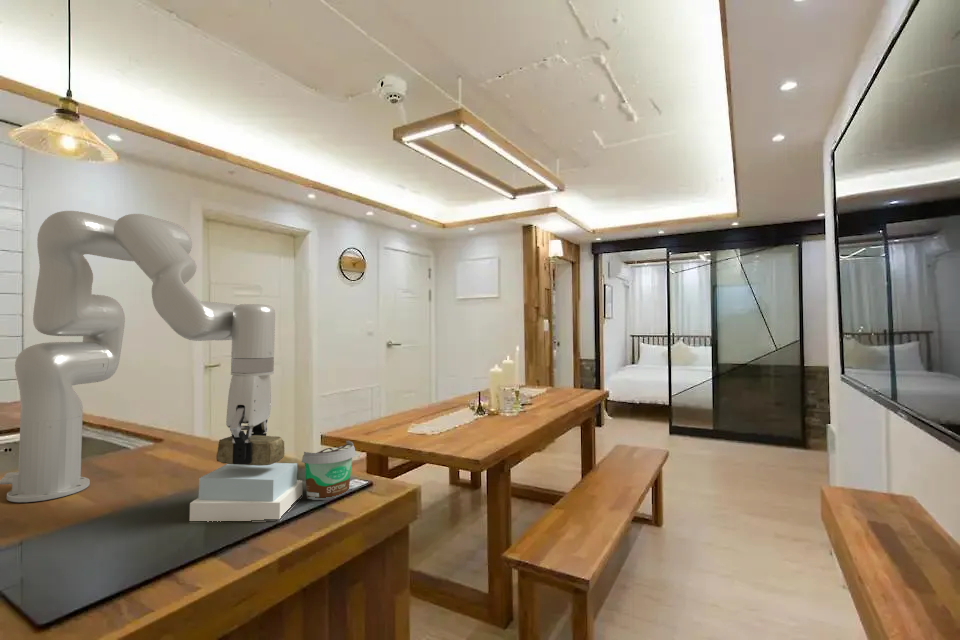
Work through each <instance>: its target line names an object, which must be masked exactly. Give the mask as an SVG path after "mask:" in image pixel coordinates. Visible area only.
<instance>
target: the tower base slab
mask: <svg viewBox="0 0 960 640" xmlns="http://www.w3.org/2000/svg"><path fill="white" fill-rule="evenodd" d="M303 481H304V480H303V479H302V480H301V479H299V480H298V479H297V483H296V484H295V485H293V486H292V487H291V488H290V489H288V490H287V491H286V492H285V493H283V494H282V495H281V496H279V497H278V498H277V499H276V500H274V501H273V502H269V501H229V500H199V497H197V498H196V499H194V500H192V501H191V502H190V503H189V521H207V522H206V523H210V522H209V521H212V522H211V523H214V522H213V521H217V522H218V521H220V522H221V521H251V520H264V519H280V518H281V516H282V515H283V514H284V513H285V512H286V511H287V510H288V509H289V508H290V507H291V505H292V504H293V503H294V502H295V501H296V500H297V499H298V498H299V497H300V496H301V495H302V496H303ZM217 522H216V523H217ZM220 522H218V523H220ZM221 523H222V522H221Z"/></svg>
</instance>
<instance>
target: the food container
mask: <svg viewBox="0 0 960 640" xmlns="http://www.w3.org/2000/svg"><path fill="white" fill-rule="evenodd" d="M355 456H356V449H355V446H354V443H353V441H350V440H346V443H345V444H344V445H340V446H336V447H327V448H324V449H321V450H320V451H317V452H310V451H309V452H308V451H303V455H302V459H301V463H302V464H303V463H304V474H305V487H306V489H305V491H306V497H307V496H308V497H315V498H326V497H332V496H336V495H339V494H342V493H344V492H346V491H347V490H348V489H349V490H350V483H351V474H352V466H353V465H352V464H353V457H355Z"/></svg>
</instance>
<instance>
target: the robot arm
mask: <svg viewBox="0 0 960 640" xmlns="http://www.w3.org/2000/svg"><path fill="white" fill-rule="evenodd" d="M190 235H191V234H189V232H188V231H187V230H186V229H185V228H184V227H182V226H181V225H180V224H177V223H175V222H172V221H169V220H164V219H161V218H157V217H154V216H151V215H147V214H142V213H129V214H126V215H123V216H121V217H119V218H118V219H112V218H110V217H109V218H108V217H106V216H101V215H98V214H94V213H89V212H83V211H79V210H78V211H77V210H64V211H63V210H61V211H57V212H55V213H52V214H50V215H49V216H48V217H47V218H45V219H44V220H43V223H41V225H40V228H39V230H38V233H37V238H36V239H37V242H36V243H37V253H38V261H39V269H38V271H39V272H38V277H37V284H36V290H35V299H34V304H33V305H34V307H33V313H32V314H33V315H32V321H33V326H34V328H35V330H37V332H38V333H40V334H43V335H46V336H53V337H82V341H58V342H57V341H54V342H53V341H51V342H42V343H35V344H32V345H30V346H28V347H25V349H23V350H21V351H20V353H19V354H18V355H17V356H16V359H15V362H14V363H15V364H14V370H15V371H14V372H15V375H16V380H17V384H18V389H19V399H20V417H19V419H20V420H19V421H20V423H19V447H18V448H19V451H18V471H16V472H14V471H12V472H11V471H10V472H6V473H5V474H4V476H3V477H2V478H0V485H11V489H10V490H9V491H7V492H6V500H7V501H9V502H11V503H34V502H41V501H48V500H54V499H58V498H62V497H65V496H70V495H74V494H77V493H79V492H81V491H83V490H85V489H87V488H88V487H89V486H90V483H91V482H90V479H89V478H88V477H84V476H81V473H82V469H81V468H82V444H83V437H82V436H83V419H84V418H83V413H84V412H83V411H84V410H83V402H82V400H81V398H80V396H79V395H78V393H77V392H76V390H75V389H74V388H73V386H76V385H83V384H84V385H86V384H92V383H99V382H103V381H104V382H105V381H106V380H108V379H110V378H111V377H113V375H115V373H116V372H117V370H118V368H119V364H120V360H121V352H122V346H123V339H124V334H125V333H124V332H125V327H126V326H125V325H126V324H125V322H126V317H125V311H124V309H123V307H122V305H121V303H120V302H119V301H118V300H116V299H115V298H113V297H112V296H108V295H104V294H93V293H92V290H93V289H92V288H93V282H94V273H93V270H92V267H91V265H90V263H89V261H88V260H87V259H86V257H85V255H92V256H97V257H101V258H108V259H113V260H119V261H126V262H134V263H135V264H136V265H137V266H138V267H139V268H140V269H141V270H142V271H143V273H144V274H145V275H146V276H147V277H148V278H149V280H150V281H151V283H152V285H151V286H152V287H151V297H152V303H153V306H154V308H155V311H156V312H157V314H158V315H159V316H160V317H161V318H162V319H163V321H164V322H165V323H166V324H167V325H168V326H169V327H170V329H172V330H173V331H174V332H175V333H176V334H177V335H179V336H180V337H182V338H184V339H187V340H189V341H193V342H197V341H198V342H201V341H202V342H204V341H205V342H206V341H231V355H230V358H231V359H230V360H231V361H230V375H231V378H230V384H229V389H228V396H227V397H228V398H227V406H226V417H225V418H226V423H225V424H226V427H227V428H228V429H229V430H230V433H231V436H232V437H233V440H232V443H233V464H250V463H251V462H252V442H250V439H251V435H261V436H267V431H268V427H267V426H268V425H267V423H268V419H269V417H270V415H271V409H272V406H271V405H272V390H271V389H272V388H271V387H272V385H271V384H272V383H271V375H274V369H275V368H274V365H275V363H274V362H275V339H276V338H275V336H276V335H275V333H276V311H275V309H274V307H272V306H270V305H269V304H268V305H267V304H257V303H256V304H255V303H252V304H251V303H242V304H233V303H227V302H226V303H223V302H215V301H203V300H202V301H201V300H200V299H198V298H197V296H195V295H194V294H193V292H192V291H191V290H190V289H189V288H188V287H187V285H185V284H187V283H188V282H190V281H191V279H192V278H194V276H195V274H196V273H197V268H198V267H197V263H196V260H195V259H193V257H192V256H191V255H190V253H191V251H192V247H193V241H192V237H191V236H190ZM242 424H245V425H242ZM245 431H246V433H245Z"/></svg>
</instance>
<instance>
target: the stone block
mask: <svg viewBox="0 0 960 640" xmlns="http://www.w3.org/2000/svg"><path fill="white" fill-rule="evenodd" d="M232 440H233V437H232V435H231V436H228V437H223V438H222V439H219V441H218V445H217V446H218V447H217V451H216V454H215V455H216V456H215V457H216V462H217V463H218V462H219V463H221V464H233V443H232ZM250 442H252V462H251V463H250V464H238V465H258V466H262V465H271V464H273V463H279V462H280V461H281V460H283V458H284V457H285V454H286V453H285V441H284V439H283V438H282V437H280V436H276V435H275V436H271V435H266V436H261V435H251V439H250Z"/></svg>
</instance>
